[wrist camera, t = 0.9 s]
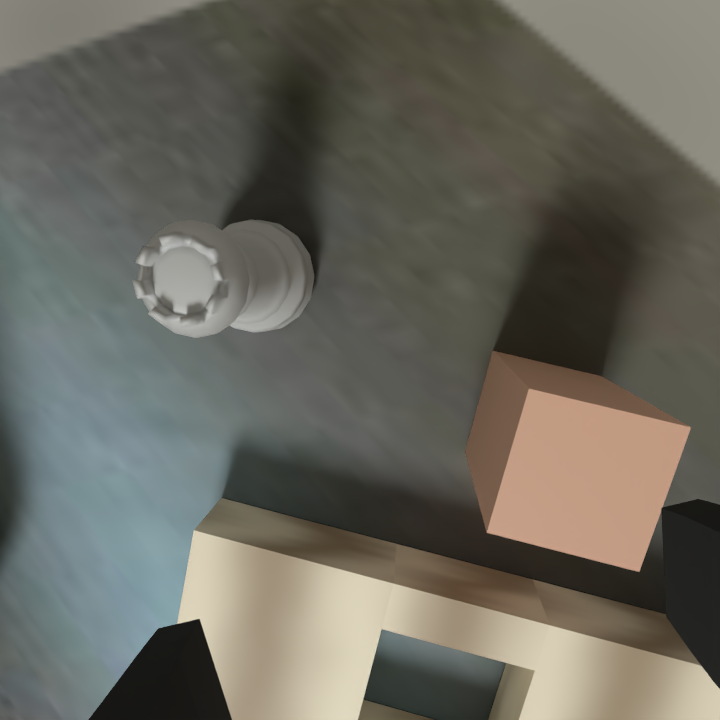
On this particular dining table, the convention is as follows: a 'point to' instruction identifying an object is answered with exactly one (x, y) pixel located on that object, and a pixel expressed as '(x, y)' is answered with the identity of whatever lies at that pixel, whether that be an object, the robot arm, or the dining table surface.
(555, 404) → the square peg
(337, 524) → the dining table surface
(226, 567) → the rail
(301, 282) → the rook chess piece
